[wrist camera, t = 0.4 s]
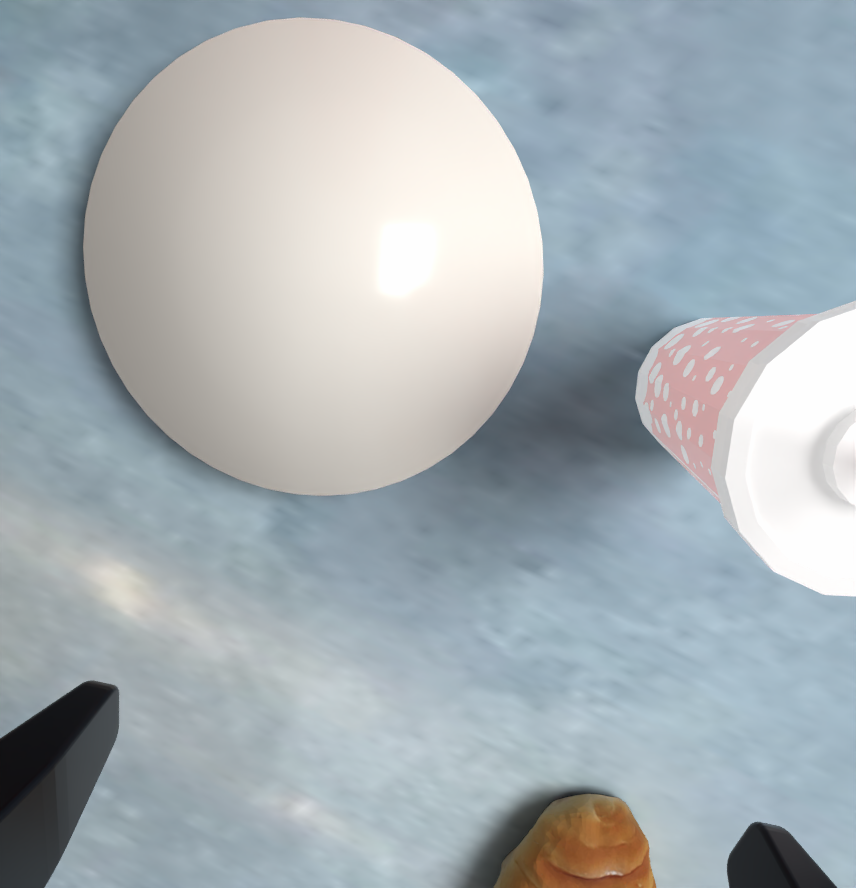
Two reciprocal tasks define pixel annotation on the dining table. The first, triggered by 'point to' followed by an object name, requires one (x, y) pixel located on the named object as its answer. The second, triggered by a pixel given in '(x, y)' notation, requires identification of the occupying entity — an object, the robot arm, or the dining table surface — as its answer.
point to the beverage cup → (767, 432)
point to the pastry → (581, 848)
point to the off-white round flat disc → (313, 256)
